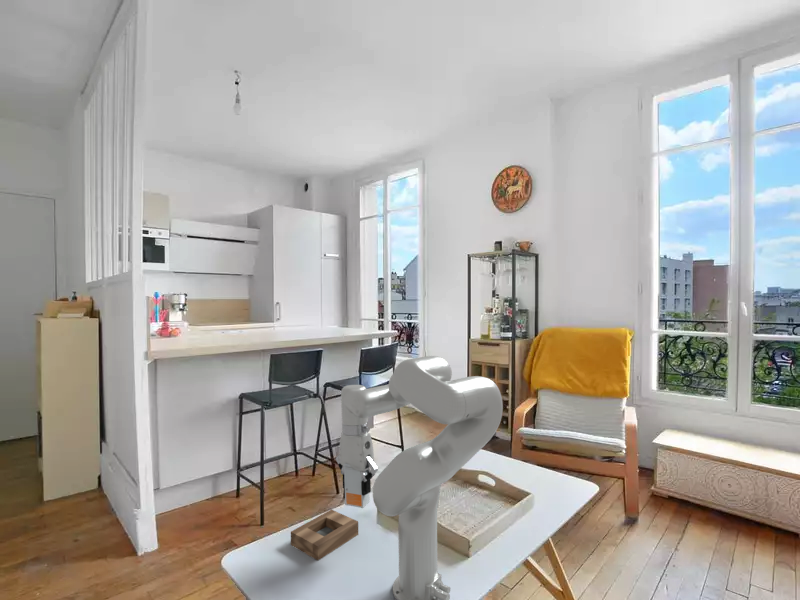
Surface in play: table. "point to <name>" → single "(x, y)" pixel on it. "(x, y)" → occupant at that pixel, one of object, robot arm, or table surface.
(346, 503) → the skincare box
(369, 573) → the table surface
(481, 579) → the table surface
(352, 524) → the socket block
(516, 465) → the table surface
